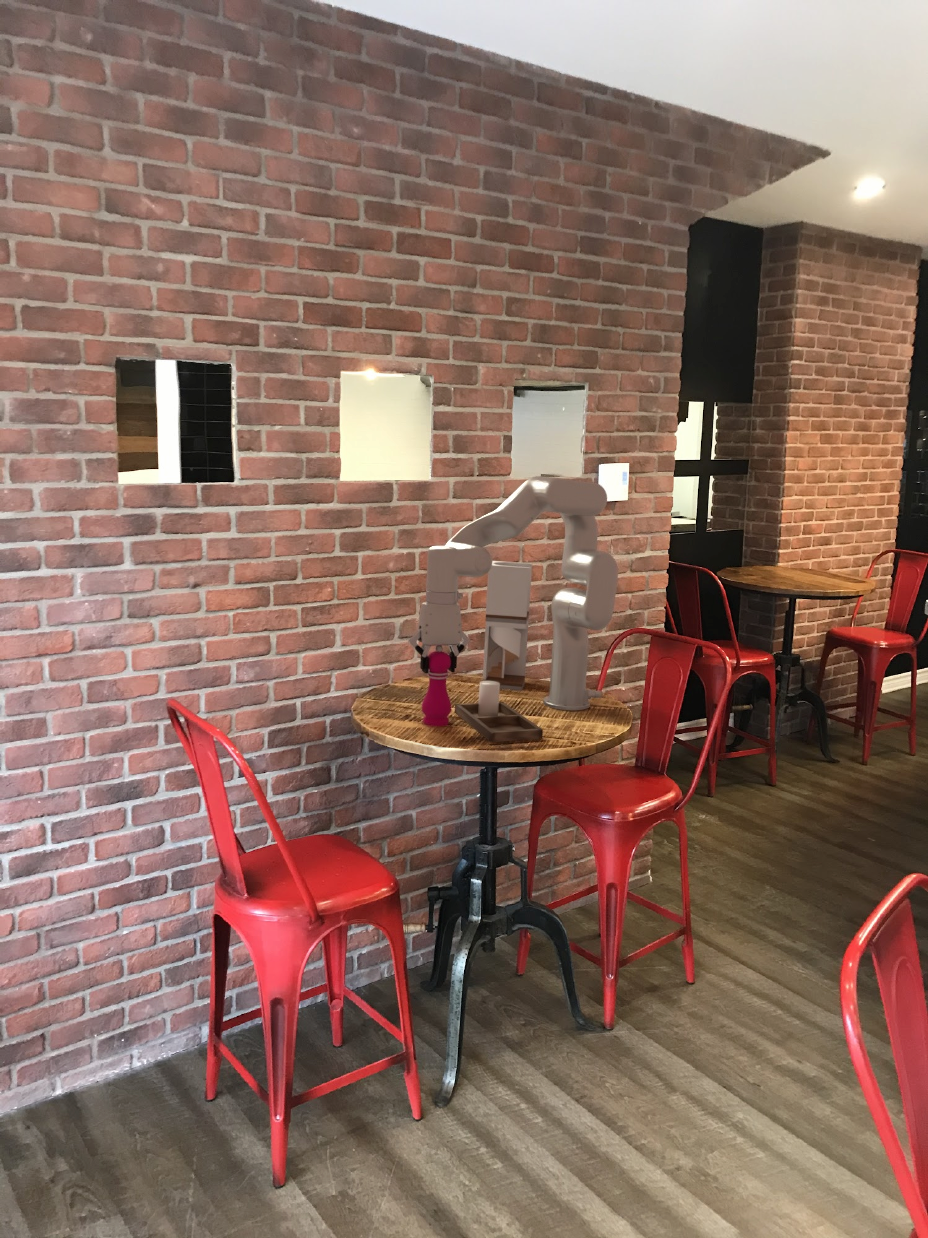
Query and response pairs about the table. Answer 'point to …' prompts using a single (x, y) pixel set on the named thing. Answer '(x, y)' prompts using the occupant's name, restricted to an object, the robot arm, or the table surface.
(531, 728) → the walnut cruet tray
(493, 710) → the salt shaker
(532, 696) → the table surface
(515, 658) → the spiral ramp tower
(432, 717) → the pepper mill
